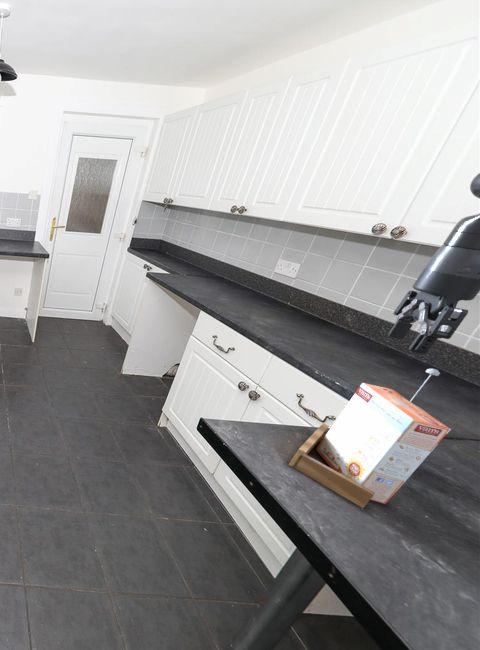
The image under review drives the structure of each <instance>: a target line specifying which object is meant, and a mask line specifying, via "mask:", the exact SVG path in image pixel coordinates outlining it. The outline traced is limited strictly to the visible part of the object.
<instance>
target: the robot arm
mask: <svg viewBox="0 0 480 650" xmlns="http://www.w3.org/2000/svg"><path fill="white" fill-rule="evenodd" d="M469 189H470V192H471V194H472V195H473V196H474V197H476V198H477V199H478V200H479V199H480V172H479V173H477V174H476V175H475V176H474V177H473V179H471V181H470V185H469ZM412 289H414V290H409V291H408V292H407V293H406V294H405V295H404V297H403V298H402V300H401V301H400V302H399V304H398V305H397V307H396V308H395V309H394V311H393V313H392V314H393V316H395V320H396V321H395V322H394V324H393V326H392V327H391V328H390V330H389V332H388V333H387V336H388V337H390V338H393V339H397V340H403V339H404V338H405V337H406V335H407V334H408V333H409V332H410V330H411V329H412V327H413V326H414V324H415V323H416V322H418V324H419V325H420V331H419V334H417V335H416V337H415V339H414V340H413V341H412V343H411V344H410V346H409V347H408V350H409V351H410V352H413V353H415V354H420V355H426V354H427V353H428V352H429V351H430V350H431V348H432V346H434V344H435V343H436V341H437V340H438V339H439V340H440V339H446V340H449V339H451V338H452V337H453V335H454V334H455V332H456V331H457V329H459V326H460V325H461V324H462V322H463V321H464V320H465V318H466V317H467V316H468V314H469V310H468V309H465V308H459V307H457V305H458V303H459V302H460V301H467V302H468V301H473V300H475V298H476V297H477V295H478V294H479V293H480V213H478V214H471V215H467V216H465V217H462V218H460V220H458V221H457V222H456V224H455V225H454V227H452V230H451V231H450V233H449V234H448V236H447V237H446V239H445V241H444V242H443V244H442V245H441V246H440V247H439V248H438V249H437V250H436V251H435V252H434V254H432V256H431V258H430V259H429V260H428V262H427V264H426V265H425V267H424V268H423V270H422V271H421V272H420V274H419V276H418V277H417V279H416V280H415V282H414V283H413V284H412ZM445 328H446V329H445Z"/></svg>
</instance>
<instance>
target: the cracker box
mask: <svg viewBox="0 0 480 650" xmlns="http://www.w3.org/2000/svg"><path fill="white" fill-rule="evenodd" d="M417 406H418V405H416V404H415V403H413V401H411V402H410V400H409V399H407V398H406V397H405V396H403V395H401V394H400V393H399V392H397V391H396V390H394V389H393V388H388V387H384V386H379V385H375V384H372V383H371V384H370V383H367V382H362V383H361V384H360V385H359V387H357V389H356V391H355V393H354V394H353V395H352V397H351V398H350V400H349V401H348V402H347V404H346V406H345V407H344V408H343V409H342V411H341V413H340V414H339V415H338V417H337V418H336V420H335V421H334V422H333V424H332V426H331V427H330V429H328V430H329V431H328V433H327V434H326V436H325V437H324V439H323V440H322V441H321V443H319V444H318V446H317V447H316V448H315V451H316V452H317V454H319V456H320V457H321V458H322V459H323V461H324V462H325V463H326V464H327V466H328V467H330V468H331V469H333V470H335V471H337V472H339V473H340V474H342V475H344V476H346V477H348V478H350V479H351V480H353V481H355V482H357V483H359V484H361V485H362V486H364V487H366V488H368V489H370V490H371V491H373V492H375V494H374V496H373V497H372V498H371V499H370V500H369V501H373V502H376V503H380V504H383V505H386V504H387V503H388V502H389V500H391V498H392V497H393V496H394V495H395V494H396V493H397V492H398V491H399V490H400V488H401V487H402V486H403V485H404V484H405V483H406V482H407V480H408V479H409V478H410V477H411V476H412V475H413V473H414V472H415V471H416V470H417V469H418V468H419V466H420V465H421V464H422V463H424V461H425V460H426V459H427V457H428V456H429V455H430V454H431V453H432V452H433V451H434V449H435V448H436V447H437V446H438V445H439V444H440V443H441V442H442V440H444V438H445V437H446V436H447V435H448V434H449V432H450V431H451V430H452V429H451V428H450V427H448V426H447V425H446V424H444V423H443V422H440V421H439V420H438V419H437V418H435V417H433V416H432V415H430V414H429V413H427V412H426V410H424V409H423V408H421V407H420V406H418V407H417ZM420 408H421V409H420ZM423 410H424V411H423Z"/></svg>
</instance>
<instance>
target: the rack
mask: <svg viewBox="0 0 480 650" xmlns="http://www.w3.org/2000/svg"><path fill="white" fill-rule="evenodd" d="M329 427H330V425H328V424H327V423H324V422H322V423H321V424H320V426H319V427H318V428H317V429H316V430H315V431H314V432H313V433H312V434H311V435H310V436H309V437H308V439H306V440H305V442H304V443H303V444H302V445H301V446H300V447H299V448H298V450H297V451H296V453H295V454H294V456H293V457H292V459H291V460H290V462H289V463H288V466H290V467H292V468H293V469H295V470H296V471H299V472H300V473H302V474H304V475H305V476H307V477H309V478H310V479H312V480H314V481H316V482H317V483H319V484H321V485H322V486H324V487H326V488H327V489H329V490H331V491H332V492H334V493H336V494H338V495H340V496H341V497H343V498H345V499H347V500H348V501H350V502H352V503H353V504H355V505H356V506H358V507H360V508H361V509H363V508H365V506H366V505H367V504H368V503H369V502H370V501H371V500H370V499H371V498H372V497H373V496H374V494H375V492H373V491H371V490H370V489H368V488H366V487H364V486H362V485H361V484H359V483H357V482H355V481H353V480H351V479H350V478H348V477H346V476H344V475H342V474H340V473H339V472H337V471H335V470H333V469H331V467H330V466H329V465H326V464H324V463H322V462H320V461H319V460H317V459H315V458H313V457H311V456H310V455H308V454H310V453H311V451H312V450H313V449H314V447H315V446H316V445H317V444H318V443H319V444H320V443H321V441H322V440H323V439H324V437H325V436H326V434H327V433H328V431H329V430H330V429H329Z"/></svg>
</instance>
